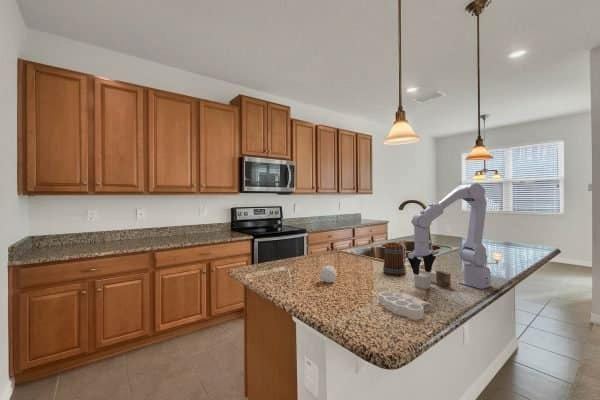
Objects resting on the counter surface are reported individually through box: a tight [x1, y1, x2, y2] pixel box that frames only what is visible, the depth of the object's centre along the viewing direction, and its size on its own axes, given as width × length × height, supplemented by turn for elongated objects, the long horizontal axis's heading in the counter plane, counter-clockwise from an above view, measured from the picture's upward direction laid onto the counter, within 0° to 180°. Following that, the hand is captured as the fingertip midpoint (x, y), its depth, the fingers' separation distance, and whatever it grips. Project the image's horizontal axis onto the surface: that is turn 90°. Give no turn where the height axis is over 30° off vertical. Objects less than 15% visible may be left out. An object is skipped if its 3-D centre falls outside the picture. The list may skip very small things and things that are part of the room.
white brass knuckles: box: [378, 291, 433, 321], centre depth 95 cm, size 3×18×15 cm
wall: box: [435, 269, 452, 289], centre depth 116 cm, size 6×2×6 cm, turn 28°
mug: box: [382, 241, 406, 277], centre depth 140 cm, size 16×11×15 cm
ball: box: [319, 265, 338, 284], centre depth 126 cm, size 8×8×8 cm
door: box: [419, 268, 436, 283], centre depth 125 cm, size 12×2×4 cm, turn 28°
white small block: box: [413, 273, 432, 290], centre depth 117 cm, size 5×4×5 cm
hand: (422, 273), depth 117 cm, fingers open, 7 cm apart
